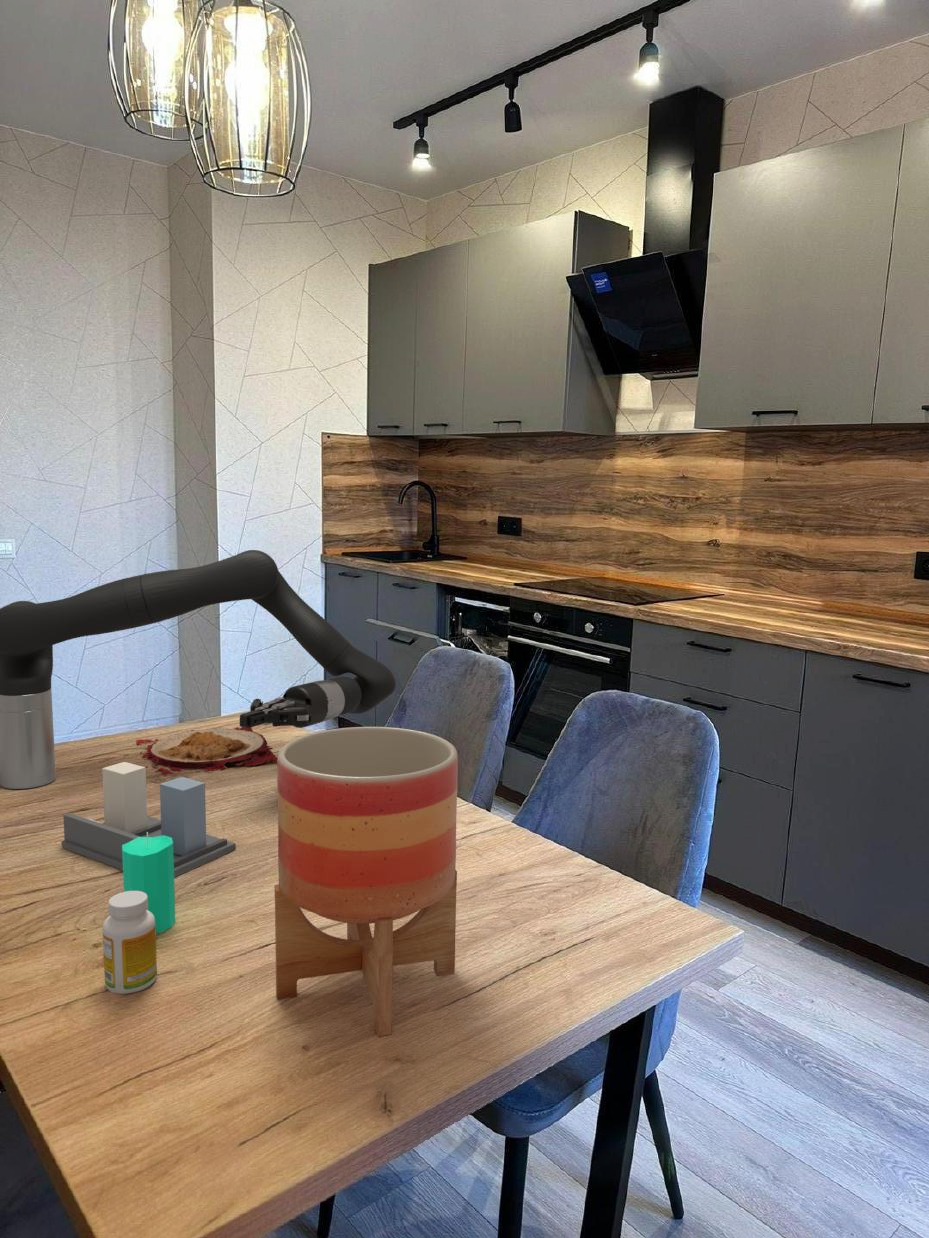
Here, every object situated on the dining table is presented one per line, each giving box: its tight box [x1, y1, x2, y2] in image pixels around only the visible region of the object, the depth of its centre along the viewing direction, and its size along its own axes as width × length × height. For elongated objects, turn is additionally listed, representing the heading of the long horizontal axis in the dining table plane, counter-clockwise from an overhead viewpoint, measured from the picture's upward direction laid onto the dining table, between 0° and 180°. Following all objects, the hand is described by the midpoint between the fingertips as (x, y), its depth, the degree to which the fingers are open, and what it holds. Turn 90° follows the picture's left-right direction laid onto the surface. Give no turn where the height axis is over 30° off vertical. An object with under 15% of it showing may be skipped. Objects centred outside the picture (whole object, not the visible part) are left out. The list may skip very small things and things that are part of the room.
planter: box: [274, 726, 459, 1038], centre depth 93 cm, size 20×20×27 cm
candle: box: [122, 832, 176, 935], centre depth 106 cm, size 6×6×12 cm
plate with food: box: [135, 726, 278, 776], centre depth 177 cm, size 25×26×4 cm
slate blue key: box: [159, 776, 207, 856], centre depth 126 cm, size 5×4×10 cm
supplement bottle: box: [102, 891, 158, 995], centre depth 94 cm, size 5×5×10 cm
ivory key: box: [101, 761, 148, 833], centre depth 132 cm, size 5×4×10 cm
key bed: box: [61, 812, 236, 878], centre depth 129 cm, size 22×14×5 cm, turn 59°
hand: (243, 721), depth 140 cm, fingers closed
